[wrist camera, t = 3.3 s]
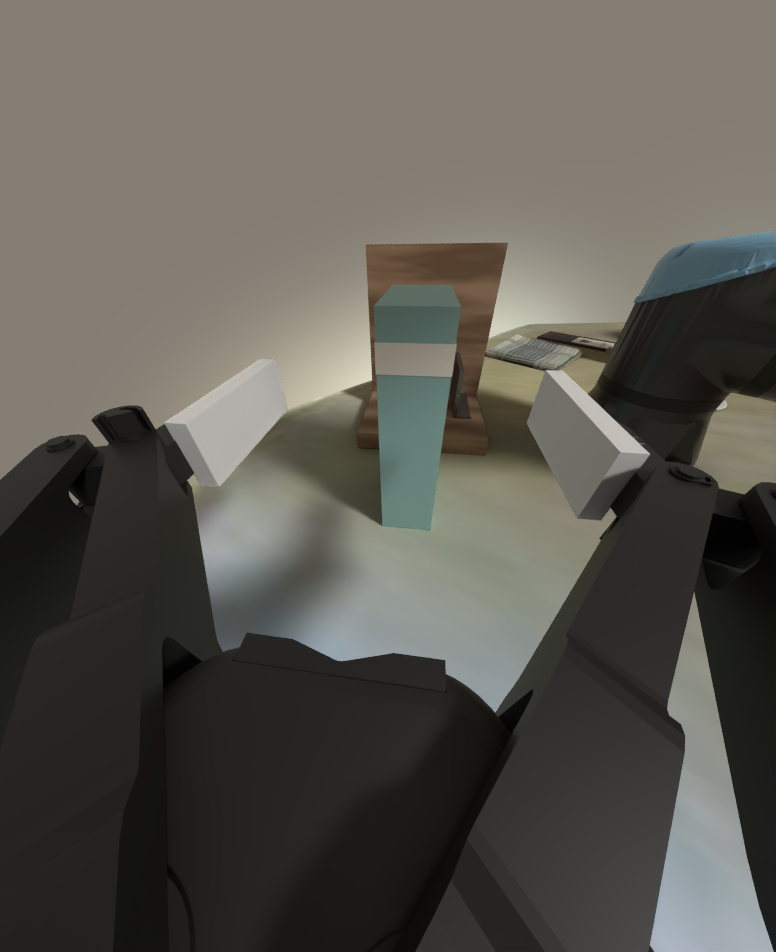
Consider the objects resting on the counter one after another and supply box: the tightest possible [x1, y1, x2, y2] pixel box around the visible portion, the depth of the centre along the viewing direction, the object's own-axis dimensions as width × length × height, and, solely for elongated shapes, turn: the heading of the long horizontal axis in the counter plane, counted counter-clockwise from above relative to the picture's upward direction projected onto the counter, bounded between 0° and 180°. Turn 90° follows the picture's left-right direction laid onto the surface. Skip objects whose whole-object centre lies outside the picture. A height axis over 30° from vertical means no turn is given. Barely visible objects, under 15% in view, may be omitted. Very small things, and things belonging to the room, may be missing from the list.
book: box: [374, 285, 461, 530], centre depth 26 cm, size 5×10×20 cm, turn 173°
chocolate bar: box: [537, 331, 615, 351], centre depth 80 cm, size 9×1×18 cm
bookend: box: [450, 352, 471, 419], centre depth 42 cm, size 9×3×7 cm, turn 173°
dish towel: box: [486, 334, 584, 371], centre depth 70 cm, size 19×18×3 cm
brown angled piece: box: [357, 243, 508, 455], centre depth 39 cm, size 18×18×22 cm
